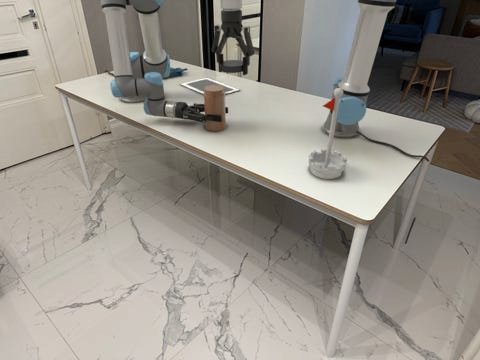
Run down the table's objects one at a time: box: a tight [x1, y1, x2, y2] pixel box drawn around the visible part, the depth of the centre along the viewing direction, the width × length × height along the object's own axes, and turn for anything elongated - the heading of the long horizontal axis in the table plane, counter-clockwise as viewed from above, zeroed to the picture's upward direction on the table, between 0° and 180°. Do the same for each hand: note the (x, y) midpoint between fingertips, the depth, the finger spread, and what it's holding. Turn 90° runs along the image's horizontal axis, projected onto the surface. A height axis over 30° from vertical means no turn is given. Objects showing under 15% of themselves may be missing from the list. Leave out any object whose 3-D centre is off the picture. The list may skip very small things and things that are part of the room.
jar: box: [202, 85, 227, 132], centre depth 149 cm, size 9×9×18 cm
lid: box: [220, 59, 243, 74], centre depth 131 cm, size 10×10×2 cm
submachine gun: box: [168, 66, 188, 77], centre depth 221 cm, size 34×4×25 cm
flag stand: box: [307, 88, 348, 180], centre depth 113 cm, size 13×13×30 cm
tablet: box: [179, 77, 241, 96], centre depth 200 cm, size 32×20×1 cm, turn 41°
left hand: (224, 114), depth 149 cm, fingers closed on jar, 9 cm apart
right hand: (233, 72), depth 132 cm, fingers closed on lid, 10 cm apart
